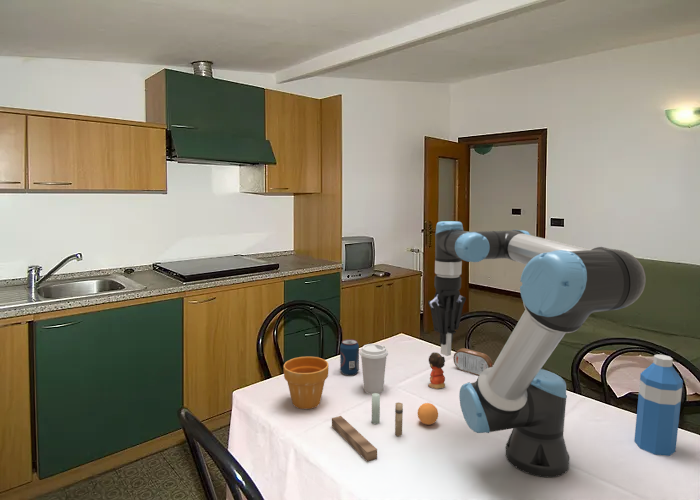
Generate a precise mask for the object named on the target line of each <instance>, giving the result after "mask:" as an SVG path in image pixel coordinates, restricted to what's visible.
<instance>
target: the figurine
mask: <svg viewBox="0 0 700 500" xmlns="http://www.w3.org/2000/svg"><path fill="white" fill-rule="evenodd" d="M445 362H446V359H445V356H442V355H441V353H439V352H431V354H430V355H429V356H428V364H429V367H430V369H431V372H430V374H429V376H430V377H429V382H430V383H429V384H428V385H427V387H429V388H431V389H433V390H437V389H442V388H443V389H444V388H445V387H446V383H445V381H446V377H445V375H444V372H445V371H444V370H443V367H444V366H445Z"/></svg>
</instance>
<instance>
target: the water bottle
mask: <svg viewBox="0 0 700 500" xmlns="http://www.w3.org/2000/svg"><path fill="white" fill-rule="evenodd" d="M652 361H653V362H652V363H651V364H650V365H649V366H648V367H646V368H645V369H644V370H643V371H642V372H640V376H639V384H638V385H639V387H638V388H639V389H638V397H637V399H638V400H637V409H636V419H635V420H636V421H635V429H634V430H635V432H634V439H633V440H634V443H635V444H636V446H638V448H639V449H641V450H643V451H645V452H648V453H650V454H652V455H656V456H657V455H658V456H667V457H670V456H672V455H673V454H675V452H677V451H676V450H677V441H678V431H679V422H680V412H681V402H682V393H683V386H684V385H683V383H684V381H683V379H682V378H681V376H680V375H679V373H678V372H677V371H676V369H675V368H674V367H673V361H674V358H672V357H671V356H669V355H665V354H658V353H657V354H654V355H653V360H652Z"/></svg>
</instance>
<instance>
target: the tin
mask: <svg viewBox="0 0 700 500" xmlns="http://www.w3.org/2000/svg"><path fill="white" fill-rule="evenodd" d="M453 363H454V365H455V367H456V368H457V369H458V370H460V371H462V372H465V373H469V374H472V375H475V376H477V377H479V375H480V374H481V372H482V371H483V370H485V369H487V368H490V367H492V366H493V365H494V362H493V361H492V359H491V357H490V356H489V355H487V354H486V353H483V352H479V351H477V350H472V349H469V348H465V347H462V348H459V349H458V350H457V351H456V352H454V354H453Z"/></svg>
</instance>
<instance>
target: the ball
mask: <svg viewBox="0 0 700 500" xmlns="http://www.w3.org/2000/svg"><path fill="white" fill-rule="evenodd" d="M438 417H439V412H438V408H437V407H436V406H435V405H434V404H433V403H430V402H425V403H421V405H420V406H419V407H418V409H417V418H418V419H419V421H420V422H421V423H422V424H423V425H429V426H430V425H433V424H434V423H436V422H437V420H438V419H439V418H438Z"/></svg>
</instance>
